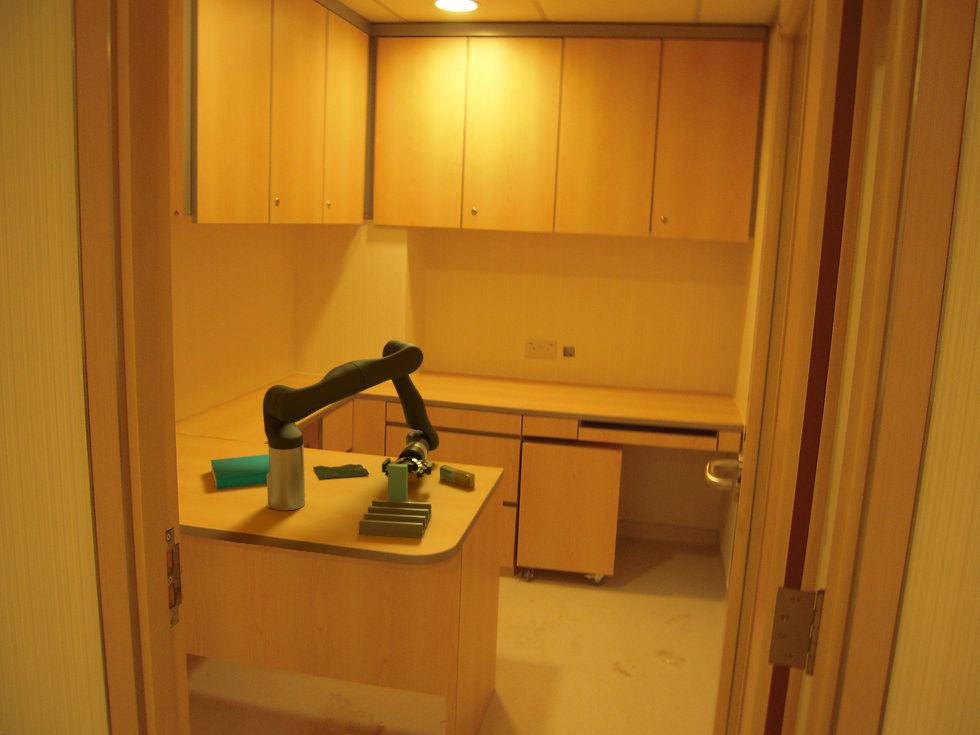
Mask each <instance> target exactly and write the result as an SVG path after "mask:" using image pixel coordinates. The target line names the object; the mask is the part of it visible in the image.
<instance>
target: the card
mask: <svg viewBox="0 0 980 735" xmlns="http://www.w3.org/2000/svg"><path fill="white" fill-rule="evenodd" d="M408 479H409V473H408V465H407V464H389V465H388V477H387V492H388V493H387V500H388V501H406V502H409V500H408V499H409V498H408V497H409V494H408V490H409V488H408V485H409V484H408V482H409V481H408Z"/></svg>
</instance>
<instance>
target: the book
mask: <svg viewBox="0 0 980 735" xmlns="http://www.w3.org/2000/svg"><path fill="white" fill-rule="evenodd" d="M210 465H211V474H212V478H213V477H214V478H213V481H215V482H214V485H215V488H216V489H217V490H219V489H229V488H230V489H231V488H237V487H239V488H240V487H247V486H255V485H263V484H264V485H265V483H266V484H267V474H268V473H269V453H267V454H259V455H248V456H239V457H238V456H236V457H229V458H219V459H211V460H210Z"/></svg>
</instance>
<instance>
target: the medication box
mask: <svg viewBox="0 0 980 735" xmlns="http://www.w3.org/2000/svg"><path fill="white" fill-rule="evenodd" d="M475 476H476V475H475V473H472V472H469V471H465V470H463V469H460V468H456V467H453V466H450V465H446V464H443V465H442V466H439V479H440V478H441V479H440V480H443V479H444V480H443V481H446V480H447V482H449V481H450V483H454V484H456V485H459V486H462V487H466V488H469V489H470V488H473V487H475V485H476V484H475V483H476V482H475V481H476V479H475V478H476V477H475Z"/></svg>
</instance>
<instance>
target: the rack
mask: <svg viewBox="0 0 980 735" xmlns="http://www.w3.org/2000/svg"><path fill="white" fill-rule="evenodd" d="M431 517H432V502H422V501H421V502H419V501H408V502H406V501H388V499H387V500H385V499H372V500H371V505H368V506H367V512H364V513H363V519H359V521H358V525H359V526H358V528H359V529H358V535H362V534H369V535H368V536H379V535H383V536H382V537H396V538H397V537H399V538H415V539H416V538H417V539H423V536H424V533H425V531H426V530H427V527H428V524H429V521H430V519H431Z"/></svg>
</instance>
